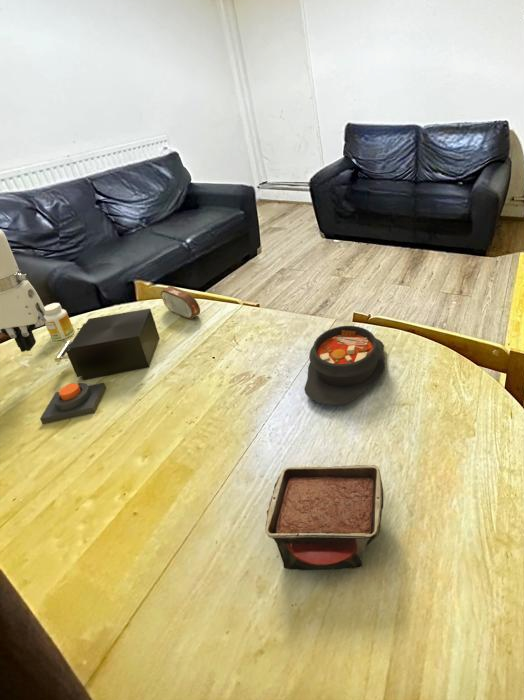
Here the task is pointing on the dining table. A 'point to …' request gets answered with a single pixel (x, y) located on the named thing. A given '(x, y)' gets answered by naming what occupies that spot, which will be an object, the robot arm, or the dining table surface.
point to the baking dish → (325, 515)
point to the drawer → (68, 354)
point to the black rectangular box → (115, 344)
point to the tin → (180, 302)
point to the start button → (69, 392)
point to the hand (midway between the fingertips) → (28, 347)
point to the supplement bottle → (58, 322)
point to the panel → (74, 404)
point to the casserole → (343, 365)
